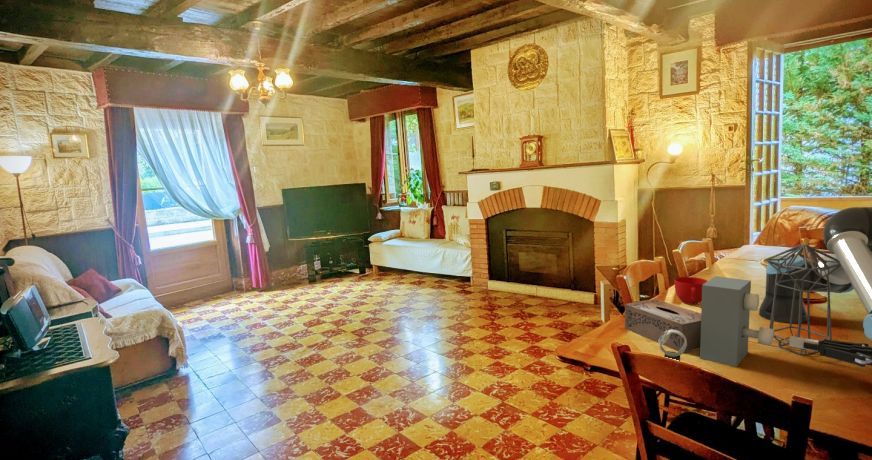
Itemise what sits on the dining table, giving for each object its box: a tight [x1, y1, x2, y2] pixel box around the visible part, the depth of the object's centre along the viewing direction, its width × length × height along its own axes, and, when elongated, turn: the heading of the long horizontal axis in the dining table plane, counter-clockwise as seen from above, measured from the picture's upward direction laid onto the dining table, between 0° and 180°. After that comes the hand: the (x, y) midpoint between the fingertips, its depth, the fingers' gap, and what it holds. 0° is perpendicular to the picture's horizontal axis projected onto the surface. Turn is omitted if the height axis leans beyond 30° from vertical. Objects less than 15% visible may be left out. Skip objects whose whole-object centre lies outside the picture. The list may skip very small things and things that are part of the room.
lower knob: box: [742, 326, 775, 346], centre depth 144 cm, size 9×5×5 cm, turn 45°
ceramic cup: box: [673, 276, 709, 306], centre depth 204 cm, size 13×17×10 cm
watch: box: [658, 329, 687, 362], centre depth 145 cm, size 6×8×11 cm
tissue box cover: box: [624, 298, 701, 353], centre depth 168 cm, size 26×14×10 cm, turn 20°
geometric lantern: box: [764, 243, 841, 356], centre depth 150 cm, size 16×16×35 cm
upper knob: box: [743, 292, 760, 312], centre depth 145 cm, size 9×5×5 cm, turn 45°
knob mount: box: [699, 275, 752, 368], centre depth 149 cm, size 10×14×24 cm
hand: (790, 341), depth 138 cm, fingers closed
